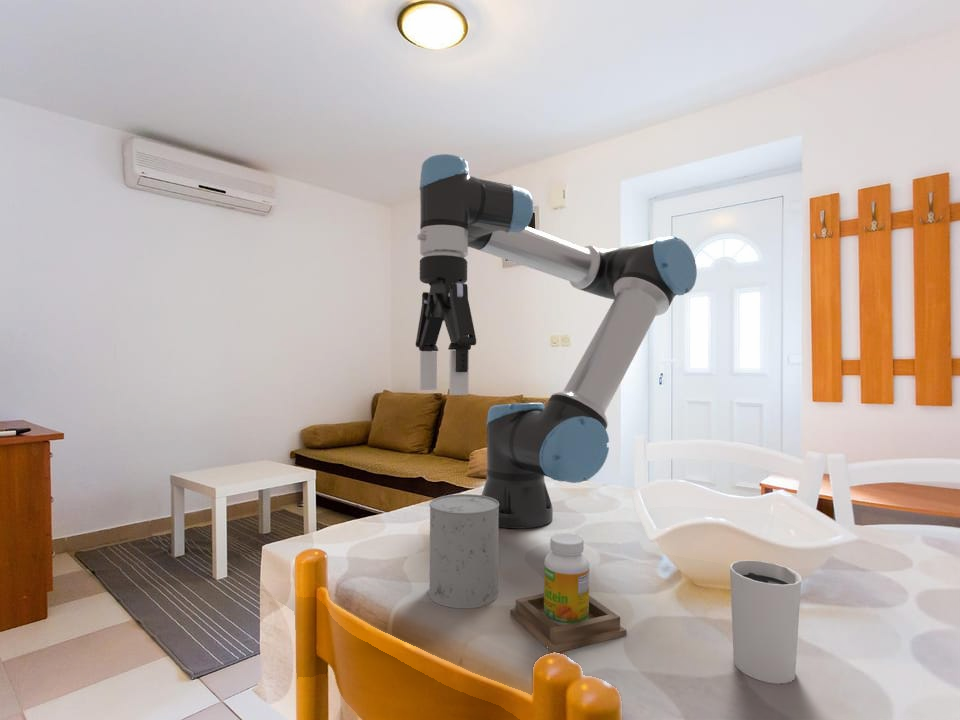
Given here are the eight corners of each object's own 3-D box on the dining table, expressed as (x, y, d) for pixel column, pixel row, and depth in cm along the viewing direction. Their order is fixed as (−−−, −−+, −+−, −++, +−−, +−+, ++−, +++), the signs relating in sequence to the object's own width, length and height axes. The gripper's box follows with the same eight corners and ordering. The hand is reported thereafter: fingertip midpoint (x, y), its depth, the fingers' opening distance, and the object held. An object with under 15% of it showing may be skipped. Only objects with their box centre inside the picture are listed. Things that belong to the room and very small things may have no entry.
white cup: (731, 677, 54) (732, 578, 54) (726, 645, 60) (727, 556, 60) (807, 692, 52) (808, 589, 52) (794, 657, 58) (795, 565, 58)
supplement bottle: (534, 618, 65) (535, 538, 65) (559, 603, 69) (560, 528, 69) (572, 634, 61) (573, 549, 61) (596, 617, 65) (597, 538, 65)
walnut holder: (576, 599, 71) (576, 584, 71) (626, 635, 62) (626, 617, 62) (510, 613, 67) (510, 597, 67) (553, 653, 58) (553, 635, 58)
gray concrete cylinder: (419, 584, 76) (420, 497, 76) (481, 574, 80) (482, 491, 80) (442, 614, 67) (443, 516, 67) (510, 601, 71) (511, 508, 71)
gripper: (398, 267, 94) (397, 388, 94) (450, 239, 72) (449, 398, 72) (438, 271, 97) (437, 387, 97) (500, 245, 75) (499, 397, 75)
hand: (442, 392), depth 85 cm, fingers open, 13 cm apart
